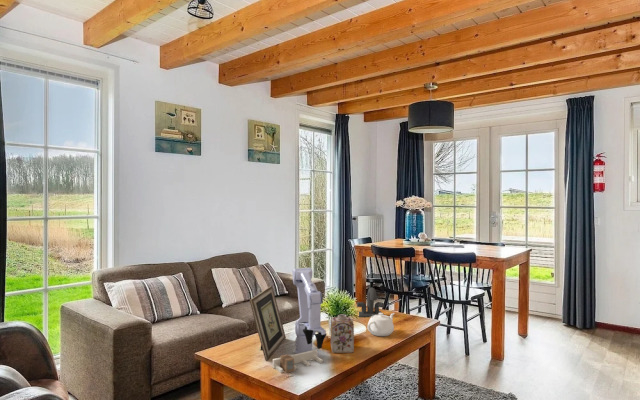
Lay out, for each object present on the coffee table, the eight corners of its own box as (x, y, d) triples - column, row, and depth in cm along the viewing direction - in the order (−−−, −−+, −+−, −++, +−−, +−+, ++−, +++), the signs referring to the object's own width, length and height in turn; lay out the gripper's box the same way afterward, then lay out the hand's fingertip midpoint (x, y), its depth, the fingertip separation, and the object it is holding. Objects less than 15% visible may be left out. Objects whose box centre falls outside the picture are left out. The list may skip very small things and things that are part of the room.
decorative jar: (351, 345, 232) (352, 312, 232) (354, 353, 221) (354, 318, 221) (330, 345, 232) (330, 312, 232) (331, 353, 220) (331, 318, 220)
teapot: (378, 341, 238) (379, 320, 238) (357, 334, 250) (358, 313, 249) (404, 331, 256) (404, 311, 256) (383, 325, 267) (384, 306, 267)
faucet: (360, 320, 278) (360, 290, 277) (356, 313, 293) (356, 285, 293) (387, 320, 279) (387, 289, 279) (381, 313, 295) (382, 284, 295)
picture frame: (267, 360, 210) (267, 300, 210) (248, 359, 212) (248, 299, 212) (286, 338, 242) (286, 286, 242) (269, 337, 244) (269, 285, 244)
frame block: (280, 368, 201) (280, 355, 201) (288, 366, 203) (288, 354, 203) (286, 373, 196) (286, 360, 196) (293, 371, 198) (294, 358, 198)
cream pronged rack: (272, 367, 202) (272, 357, 202) (315, 357, 214) (315, 348, 214) (279, 373, 195) (279, 363, 195) (323, 362, 208) (323, 353, 208)
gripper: (298, 315, 206) (298, 343, 206) (317, 322, 195) (317, 352, 195) (310, 313, 210) (310, 340, 211) (329, 319, 199) (329, 348, 199)
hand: (314, 345), depth 203 cm, fingers open, 7 cm apart
